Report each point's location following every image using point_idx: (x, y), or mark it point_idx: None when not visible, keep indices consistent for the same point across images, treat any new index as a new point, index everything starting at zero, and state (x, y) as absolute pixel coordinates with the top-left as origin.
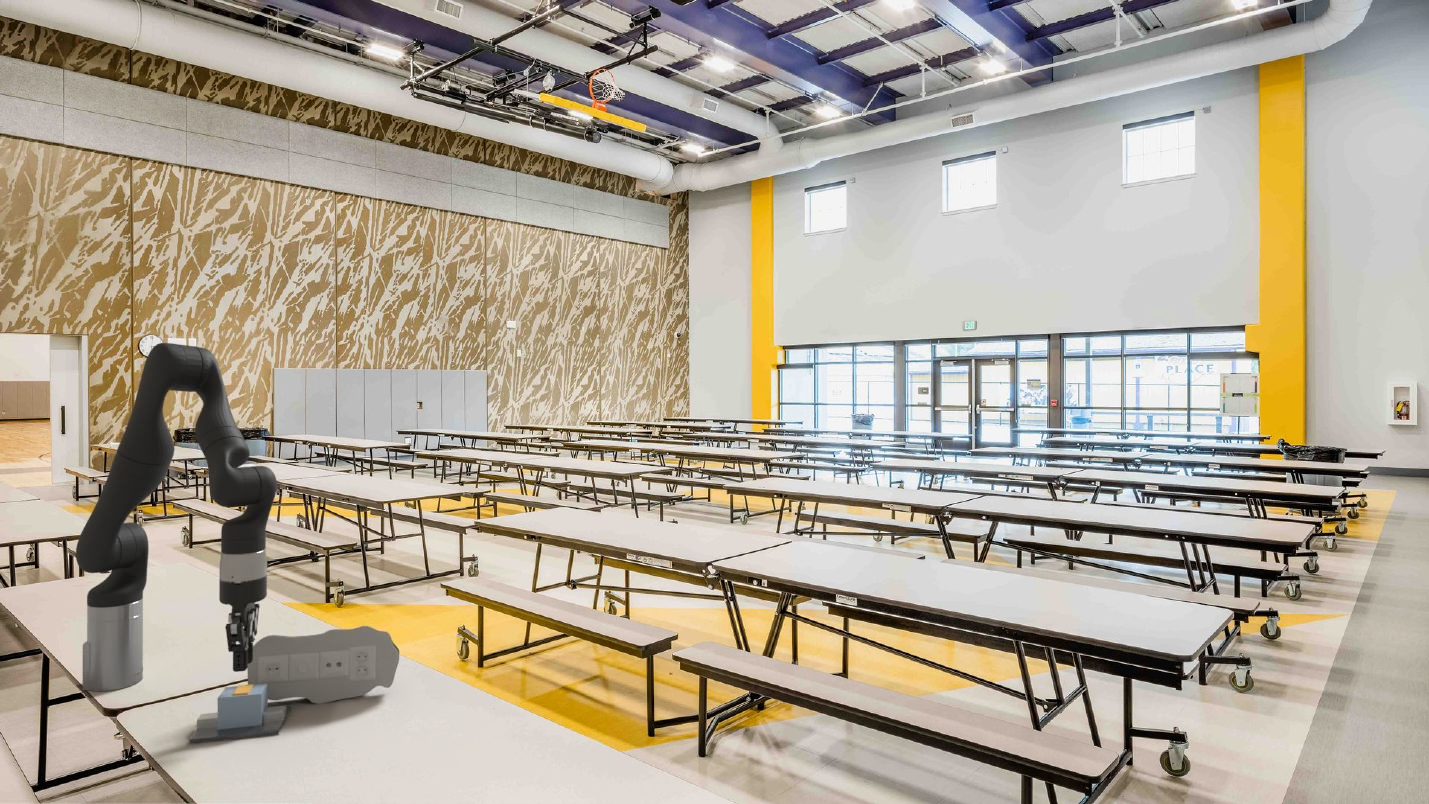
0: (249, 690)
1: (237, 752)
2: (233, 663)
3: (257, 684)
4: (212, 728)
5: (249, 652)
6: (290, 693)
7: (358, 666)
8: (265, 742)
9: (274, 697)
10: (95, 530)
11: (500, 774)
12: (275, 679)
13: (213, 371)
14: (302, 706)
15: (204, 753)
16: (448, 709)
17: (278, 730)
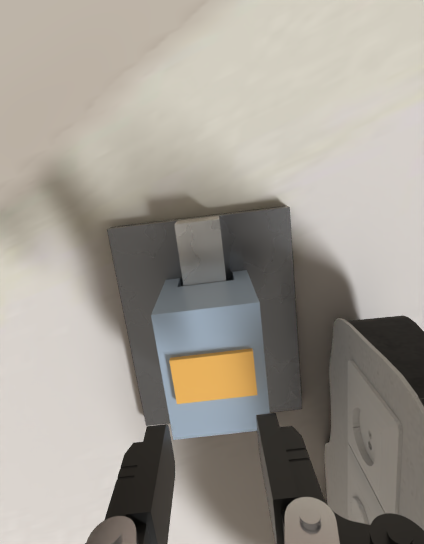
0: (198, 401)
1: (56, 362)
2: (141, 455)
3: (266, 401)
4: (174, 263)
5: (268, 499)
6: (335, 417)
7: None
8: (106, 403)
9: (332, 374)
10: None
11: None
12: (348, 415)
13: None
14: (314, 421)
15: (53, 288)
16: None
17: (146, 424)
